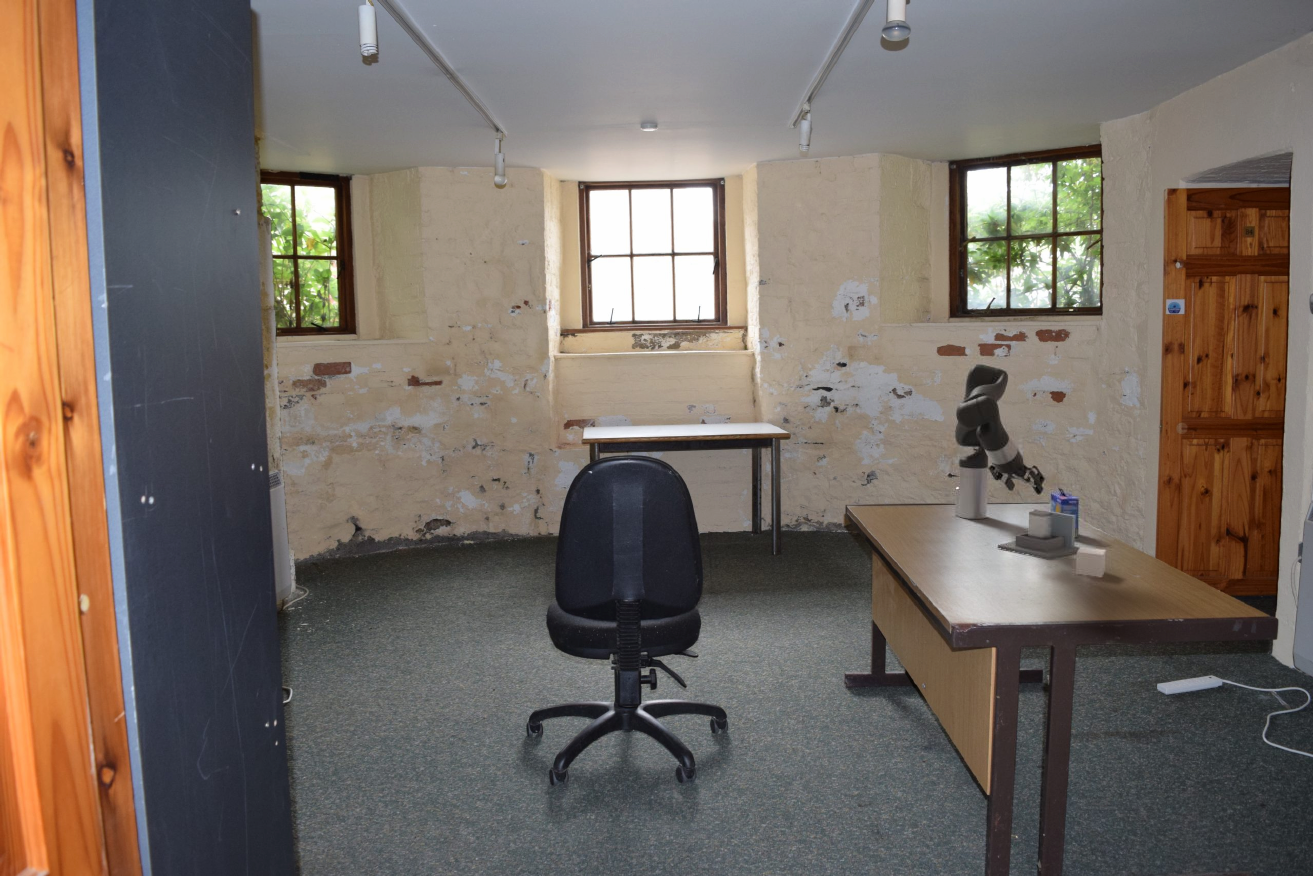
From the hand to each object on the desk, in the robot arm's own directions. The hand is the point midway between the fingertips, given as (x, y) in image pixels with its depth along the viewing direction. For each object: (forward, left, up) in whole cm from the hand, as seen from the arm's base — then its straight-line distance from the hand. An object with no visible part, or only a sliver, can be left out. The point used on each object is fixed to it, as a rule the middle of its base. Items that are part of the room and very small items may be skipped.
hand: (1026, 490), depth 243 cm
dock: (0, +8, -18) cm, 20 cm away
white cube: (+22, -4, -19) cm, 29 cm away
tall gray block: (0, +8, -17) cm, 19 cm away
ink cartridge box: (-7, +32, -19) cm, 38 cm away
